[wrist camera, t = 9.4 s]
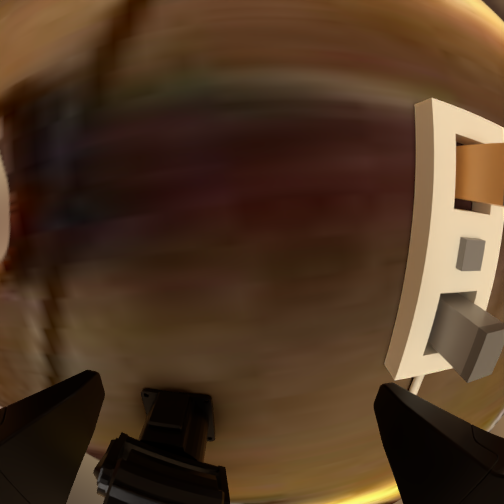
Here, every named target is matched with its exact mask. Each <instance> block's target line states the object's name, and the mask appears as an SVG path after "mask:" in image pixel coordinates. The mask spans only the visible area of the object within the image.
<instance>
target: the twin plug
mask: <svg viewBox="0 0 504 504" xmlns="http://www.w3.org/2000/svg"><path fill="white" fill-rule="evenodd" d="M428 342H429V343H430V344H431V345H432V346H433V347H434V349H435V350H436V351H437V352H438V353H439V354H440V355H441V356H442V357H443V358H444V359H445V360H446V361H447V362H448V363H449V364H450V365H451V366H452V367H453V368H454V369H455V370H456V371H457V373H458V374H459V375H460V376H461V377H462V378H463V379H464V380H465V381H466V382H467V383H468V382H471V381H474V380H477V379H480V378H483V377H485V376H488V375H491V374H492V372H493V369H494V367H495V365H496V363H497V360H498V358H499V356H500V353H501V351H502V348H503V346H504V323H503V322H501V321H500V320H498V319H497V318H495V317H494V316H492V315H491V314H489V313H488V312H486V311H485V310H483V309H482V308H480V307H479V306H477V305H476V304H474V303H473V302H471V301H470V300H468V299H467V298H465V297H463V296H462V295H460V294H459V293H457V292H455V293H440V298H439V302H438V306H437V310H436V314H435V317H434V321H433V325H432V328H431V332H430V335H429V338H428Z"/></svg>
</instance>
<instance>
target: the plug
mask: <svg viewBox="0 0 504 504" xmlns="http://www.w3.org/2000/svg"><path fill="white" fill-rule="evenodd" d="M455 198H456V199H461V200H466V201H472V202H478V203H484V204H489V205H494V206H500V207H504V143H489V144H475V145H463V146H456V182H455Z"/></svg>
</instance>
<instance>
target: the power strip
mask: <svg viewBox="0 0 504 504" xmlns="http://www.w3.org/2000/svg"><path fill="white" fill-rule="evenodd" d="M414 107H415V128H416V172H415V194H414V208H413V219H412V229H411V237H410V245H409V253H408V259H407V266H406V272H405V278H404V283H403V289H402V294H401V299H400V303H399V308H398V313H397V317H396V321H395V325H394V329H393V333H392V337H391V341H390V345H389V348H388V352H387V355H386V359H385V362H384V365H385V367H386V368H387V370H388V371H389V373H390V374H391V376H392V377H393V379H394V380H399V379H405V378H410V377H414V379H413V381H412V384H411V386H410V389H409V392H411V393H413V394H415V395H417V392H418V390H419V388H420V385H421V383H422V380H423V378H424V375H425V374H429V373H434V372H438V371H442V370H447V369H451V368H453V367H452V366H451V365H450V364H449V363H448V362H447V361H446V360H445V359H444V358H443V357H442V356H441V355H440V354H439V353H438V352H437V351H436V350H435V349H434V347H433V346H432V345H431V344H430V343H429V342H428V338H429V335H430V332H431V328H432V325H433V321H434V317H435V314H436V310H437V306H438V302H439V298H440V293H455V292H458V293H459V294H460V295H462V296H463V297H465V298H467V299H468V300H470V301H471V302H473V303H474V304H476V305H477V306H479V307H480V308H482V309H483V310H485V311H486V308H487V305H488V301H489V297H490V293H491V289H492V285H493V281H494V277H495V272H496V267H497V262H498V257H499V251H500V245H501V238H502V231H503V222H504V207H500V206H494V205H489V204H484V203H478V202H472V211H470V210H463V209H457V208H454V200H455V182H456V142H457V143H460V144H464V145H475V144H489V143H504V128H503V127H501V126H499V125H497V124H495V123H493V122H491V121H489V120H487V119H484V118H482V117H480V116H478V115H475V114H473V113H471V112H468V111H466V110H463V109H461V108H458V107H456V106H453V105H451V104H448V103H445V102H442V101H440V100H437V99H434V98H430V99H427V100H425V101H422V102H419V103H417V104H414Z"/></svg>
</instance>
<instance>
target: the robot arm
mask: <svg viewBox="0 0 504 504" xmlns="http://www.w3.org/2000/svg"><path fill="white" fill-rule="evenodd" d="M104 396H105V392H104V388H103V384H102V381H101V377H100V374H99V373H98V372H96V371H91V370H85V371H83V372H81V373H79V374H77V375H75V376H73V377H71V378H68V379H66V380H64V381H62V382H60V383H58V384H55V385H53V386H51V387H49V388H47V389H44V390H42V391H40V392H38V393H35V394H33V395H31V396H29V397H26V398H24V399H22V400H20V401H17V402H15V403H13V404H10V405H8V406H7V407H3V408H1V409H0V504H66V502H67V499H68V496H69V494H70V491H71V488H72V486H73V483H74V480H75V478H76V475H77V472H78V470H79V467H80V465H81V462H82V460H83V457H84V455H85V452H86V450H87V448H88V445H89V443H90V440H91V438H92V435H93V433H94V430H95V427H96V423H97V420H98V416H99V413H100V410H101V407H102V403H103V400H104ZM141 396H142V400H143V404H144V407H145V411H146V414H147V418H146V421H145V424H144V426H143V429H142V432H141V434H140V437H139V440H136V439H134V438H132V437H129V436H128V435H127V434H125V433H123V432H122V433H121V435H120V437H119V438H116V440H111V442H110V445H109V447H108V449H107V451H106V453H105V455H104V456H103V457H102V459H101V460H100V462H99V463H98V464H97V466H96V467H95V469H94V475H95V477H96V479H97V486H98V489H97V494H98V495H100V496H103V497H105V500H104V503H103V504H230V496H229V490H228V483H227V476H226V469H225V467H222V466H215V465H211V464H207V463H203V462H204V455H205V448H206V441H214V440H215V430H214V418H213V406H212V398H211V397H210V396H208V395H199V394H187V393H177V392H168V391H160V390H153V389H143V390H142V392H141ZM205 400H208V401H205ZM374 411H375V415H376V419H377V423H378V427H379V431H380V436H381V440H382V443H383V447H384V450H385V452H386V455H387V458H388V461H389V463H390V466H391V469H392V472H393V475H394V478H395V481H396V483H397V486H398V489H399V492H400V495H401V498H402V501H403V504H504V438H502V437H499V436H496V435H494V434H491V433H489V432H487V431H485V430H482V429H480V428H478V427H476V426H474V425H471V424H470V423H468V422H466V421H464V420H462V419H460V418H458V417H456V416H454V415H452V414H451V413H449V412H447V411H445V410H443V409H441V408H439V407H437V406H435V405H433V404H431V403H430V402H428V401H426V400H424V399H422V398H420V397H418V396H417V395H415V394H413V393H411V392H409V391H407V390H406V389H404V388H402V387H400V386H398V385H397V384H395V383H385V384H382V385H381V386H380V388H379V391H378V393H377V396H376V399H375V401H374Z"/></svg>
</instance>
